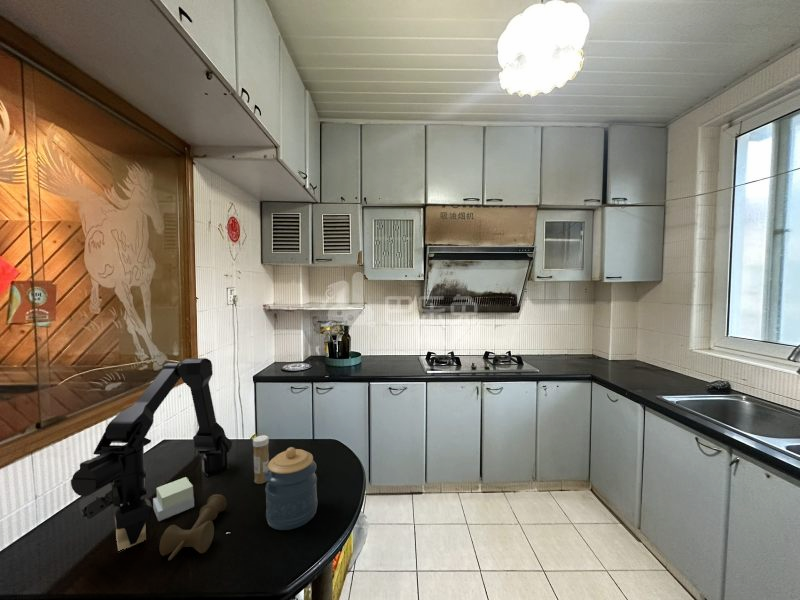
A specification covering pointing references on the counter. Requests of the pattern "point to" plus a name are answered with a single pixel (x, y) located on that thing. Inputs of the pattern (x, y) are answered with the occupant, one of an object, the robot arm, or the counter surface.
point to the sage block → (174, 492)
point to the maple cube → (123, 538)
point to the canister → (291, 489)
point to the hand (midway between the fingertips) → (131, 534)
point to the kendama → (194, 530)
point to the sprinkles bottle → (260, 458)
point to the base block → (171, 508)
